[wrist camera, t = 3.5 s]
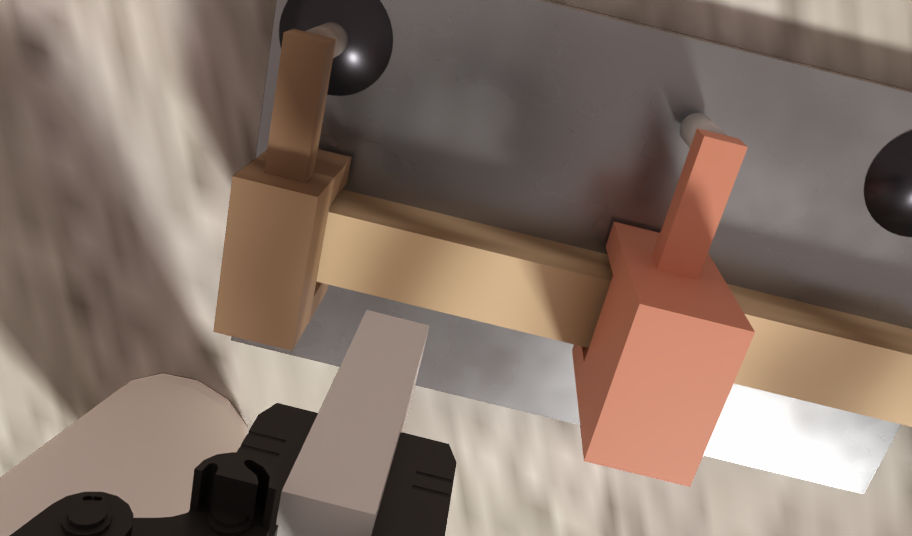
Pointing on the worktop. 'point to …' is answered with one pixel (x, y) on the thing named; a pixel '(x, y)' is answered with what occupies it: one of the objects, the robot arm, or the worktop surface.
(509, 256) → the beam gauge
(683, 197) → the sliding jaw
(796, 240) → the bolt plate
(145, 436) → the foam cup
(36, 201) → the worktop surface
